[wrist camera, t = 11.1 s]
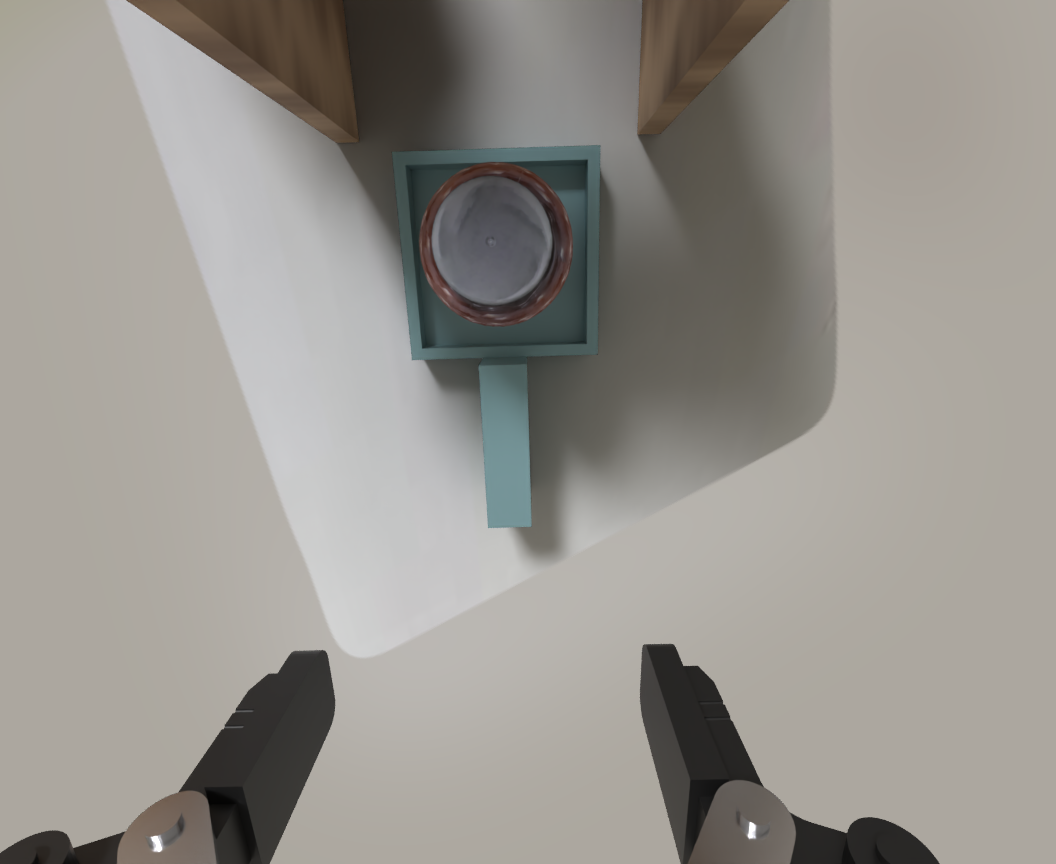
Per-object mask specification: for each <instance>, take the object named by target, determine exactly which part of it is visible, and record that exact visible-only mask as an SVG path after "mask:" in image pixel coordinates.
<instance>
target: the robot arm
mask: <svg viewBox="0 0 1056 864" xmlns="http://www.w3.org/2000/svg"><path fill="white" fill-rule="evenodd" d="M640 702H641V703H640V704H641V712H642V718H643V723H644V726H645V730H646V734H647V738H648V741H649V745H650V749H651V753H652V756H653V760H654V764H655V768H656V772H657V775H658V779H659V783H660V787H661V790H662V794H663V798H664V802H665V806H666V809H667V813H668V817H669V821H670V825H671V828H672V832H673V836H674V840H675V843H676V847H677V851H678V855H679V859H680V862H681V864H939V862H938V861H937V859H936V858H935V857H934V855H933V854H932V853H931V852H930V850H929V849H928V848H927V847H926V846H925V845H924V844H923V843H922V842H921V841H919V840H918V839H917V838H916V837H915V836H913V835H912V834H911V833H909V832H908V831H906V830H905V829H903V828H901V827H899V826H897V825H896V824H893V823H891V822H889V821H886V820H882V819H879V818H872V817H868V818H861V819H858V820H856V821H854V822H853V823H852V824H851V825H850V827H849V829H848V832H847V833H844V832H841V831H837V830H834V829H831V828H828V827H824V826H821V825H818V824H814V823H811V822H808V821H806V820H803V819H801V818H799V817H797V816H795V815H793V814H792V813H790V812H789V811H788V809H787V808H786V806H785V805H784V804H783V803H782V801H781V800H780V799H779V798H778V797H776V795H774V794H773V793H772V792H770V791H769V790H767V789H766V788H764V786H763V785H762V783H761V781H760V779H759V777H758V775H757V773H756V770H755V768H754V766H753V764H752V762H751V760H750V758H749V756H748V753H747V752H746V749H745V747H744V745H743V743H742V741H741V739H740V736H739V734H738V732H737V730H736V728H735V726H734V724H733V722H732V721H731V719H730V715H729V713H728V711H727V709H726V707H725V705H723V700H722V698H721V696H720V694H719V692H718V690H717V688H716V685H715V683H714V682H713V681H712V680H711V679H710V678H709V677H708V676H707V675H706V674H705V673H704V672H703V671H702V670H701V669H700V668H699V667H698V666H683V664H682V662H681V659H680V657H679V654H678V652H677V650H676V647H675V646H674V645H673V644H646V645H643V648H642V664H641V684H640ZM334 711H335V695H334V690H333V683H332V678H331V672H330V666H329V661H328V655H327V653H326V651H323V650H315V651H294V652H292V653H291V654H290V655H289V657H288V658H287V660H286V661H285V663H284V664H283V666H282V667H281V669H280V671H279V672H278V674H268V675H267V676H265V677H264V678H263V679H262V680H261V681H260V682H258V683H257V684H256V685H255V686H253V687H252V688H251V689H250V690H249V691H248V692H247V694H246V695H245V697H244V698H243V700H242V701H241V703H240V704H239V705H238V707H237V708H236V712H235V713H233V714H232V715H231V717H230V718H229V720H228V722H227V723H226V724H225V728H224V729H222V730H221V732H220V733H219V735H218V736H217V737H216V739H215V740H214V742H213V743H212V745H211V746H210V747H209V749H208V750H207V752H206V753H205V755H204V756H203V758H202V759H201V760H200V762H199V763H198V765H197V766H196V768H195V769H194V771H193V772H192V774H191V775H190V776H189V778H188V779H187V781H186V782H185V784H184V785H183V787H182V788H181V789H180V791H179V792H178V793H175V794H172V795H169V796H167V797H165V798H163V799H161V800H159V801H158V802H156V803H154V804H153V805H151V806H150V807H148V808H147V809H146V810H145V811H144V812H142V813H141V814H140V815H139V816H138V817H137V818H136V819H135V820H134V821H133V822H132V823H131V825H130V826H129V827H128V829H127V830H126V831H125V832H122V833H120V834H116V835H113V836H110V837H107V838H104V839H101V840H98V841H95V842H91V843H88V844H85V845H82V846H79V847H76V848H73V847H72V844H71V842H70V839H69V837H68V836H67V834H65V833H64V832H60V831H45V832H41V833H38V834H35V835H32V836H29V837H27V838H25V839H23V840H21V841H19V842H17V843H15V844H14V845H12V846H10V847H8V848H7V849H6V850H4V851H3V852H1V853H0V864H270V861H271V859H272V857H273V855H274V853H275V850H276V848H277V846H278V844H279V841H280V839H281V837H282V835H283V832H284V830H285V828H286V826H287V823H288V821H289V819H290V817H291V814H292V812H293V810H294V808H295V805H296V803H297V801H298V799H299V797H300V794H301V792H302V790H303V788H304V786H305V783H306V781H307V779H308V777H309V774H310V772H311V770H312V767H313V765H314V763H315V761H316V759H317V756H318V754H319V752H320V750H321V748H322V745H323V743H324V741H325V739H326V736H327V734H328V732H329V730H330V727H331V725H332V721H333V717H334Z"/></svg>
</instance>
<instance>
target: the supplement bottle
mask: <svg viewBox="0 0 1056 864" xmlns="http://www.w3.org/2000/svg"><path fill="white" fill-rule="evenodd" d="M419 249H420V256H421V262H422V266H423V269H424V272H425V275H426V278H427V280H428V282H429V284H430V286H431V288H432V289H433V291H434V292H435V293H436V294H437V296H438V297H439V298H440V300H441V301H442V302H443V303H444V304H445V305H446V306H447V307H448V308H450V309H451V310H452V311H453V312H455V313H456V314H457V315H459V316H461V317H462V318H464V319H466V320H468V321H470V322H473V323H477V324H481V325H484V326H492V327H495V326H501V327H505V326H511V325H515V324H519V323H522V322H525V321H527V320H528V319H531V318H532V317H534V316H536V315H537V314H539V313H540V312H542V311H543V310H544V309H545V308H546V307H547V306H548V305H550V304H551V302H552V301H553V300H554V299H555V298H556V296H557V295H558V294H559V292H560V291H561V289H562V287H563V285H564V283H565V281H566V279H567V277H568V274H569V271H570V267H571V262H572V256H573V237H572V228H571V224H570V221H569V217H568V214H567V212H566V209H565V207H564V205H563V204H562V202H561V200H560V198H559V197H558V195H557V194H556V193H555V192H554V191H553V189H552V188H551V187H550V186H549V185H548V184H547V183H546V182H545V181H544V180H543V179H541V178H540V177H539V176H537V175H536V174H535V173H533V172H531V171H529V170H527V169H525V168H523V167H520V166H517V165H514V164H510V163H504V162H486V163H480V164H476V165H473V166H470V167H467V168H465V169H462V170H461V171H459V172H458V173H456V174H454V175H453V176H451V177H450V178H449V179H448V180H447V181H446V182H444V183H443V184H442V185H441V186H440V188H439V189H438V190H437V191H436V193H435V194H434V195H433V196H432V198H431V200H430V202H429V204H428V206H427V208H426V210H425V213H424V215H423V219H422V222H421V228H420V236H419Z"/></svg>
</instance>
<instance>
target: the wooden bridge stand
mask: <svg viewBox="0 0 1056 864" xmlns="http://www.w3.org/2000/svg"><path fill="white" fill-rule="evenodd" d="M127 1H128V2H130V3H131V4H133V5H134V6H135V7H137V8H138V9H140V10H141V11H143V12H144V13H146V14H147V15H149V16H150V17H152V18H153V19H155V20H156V21H158V22H159V23H161V24H162V25H164V26H165V27H166V28H168V29H169V30H171V31H172V32H174V33H175V34H177V35H178V36H180V37H181V38H183V39H184V40H186V41H187V42H189V43H190V44H192V45H193V46H194V47H196V48H197V49H199V50H200V51H202V52H203V53H205V54H206V55H208V56H209V57H211V58H212V59H214V60H215V61H217V62H218V63H220V64H221V65H222V66H224V67H225V68H227V69H228V70H230V71H231V72H233V73H234V74H236V75H237V76H239V77H240V78H242V79H243V80H245V81H246V82H248V83H249V84H250V85H252V86H253V87H255V88H256V89H258V90H259V91H261V92H262V93H264V94H265V95H267V96H268V97H270V98H271V99H273V100H274V101H276V102H277V103H278V104H280V105H281V106H283V107H284V108H286V109H287V110H289V111H290V112H292V113H293V114H295V115H296V116H298V117H299V118H301V119H302V120H304V121H305V122H306V123H308V124H309V125H311V126H312V127H314V128H315V129H317V130H318V131H320V132H321V133H323V134H324V135H326V136H327V137H329V138H330V139H332V140H333V141H334V142H336V143H350V142H359V135H358V127H357V118H356V109H355V101H354V92H353V83H352V75H351V66H350V57H349V49H348V40H347V31H346V23H345V14H344V5H343V0H127ZM788 1H789V0H643V2H642V29H641V55H640V81H639V107H638V133H637V134H661V133H662V132H663V131H664V130H665V129H666V128H667V126H668V125H669V124H670V123H671V122H672V121H673V120H674V119H675V118H676V117H677V116H678V115H679V114H680V113H681V112H682V111H683V110H684V109H685V108H686V107H687V106H688V105H689V104H690V103H691V102H692V101H693V100H694V99H695V97H696V96H697V95H698V94H699V93H700V92H701V91H702V90H703V89H704V88H705V87H706V86H707V85H708V84H709V83H710V82H711V81H712V80H713V79H714V78H715V77H716V76H717V75H718V74H719V73H720V72H721V71H722V70H723V68H724V67H725V66H726V65H727V64H728V63H729V62H730V61H731V60H732V59H733V58H734V57H735V56H736V55H737V54H738V53H739V52H740V51H741V50H742V49H743V48H744V47H745V46H746V45H747V44H748V43H749V42H750V41H751V39H752V38H753V37H754V36H755V35H756V34H757V33H758V32H759V31H760V30H761V29H762V28H763V27H764V26H765V25H766V24H767V23H768V22H769V21H770V20H771V19H772V18H773V17H774V16H775V15H776V14H777V13H778V12H779V10H780V9H781V8H782V7H783V6H784V5H785V4H786V3H787V2H788Z"/></svg>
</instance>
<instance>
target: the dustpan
mask: <svg viewBox="0 0 1056 864" xmlns="http://www.w3.org/2000/svg"><path fill="white" fill-rule="evenodd" d="M392 159H393V170H394V180H395V190H396V200H397V211H398V221H399V231H400V241H401V252H402V262H403V272H404V282H405V293H406V303H407V313H408V323H409V334H410V344H411V354H412V360H430V359H464V358H483V359H482V361H481V362H480V364H479V381H480V398H481V415H482V432H483V449H484V466H485V483H486V501H487V518H488V528H504V527H532V524H531V481H530V448H529V414H528V380H527V357H532V356H566V355H598V295H599V215H600V145H591V146H559V147H528V148H496V149H464V150H433V151H401V152H392ZM486 162H504V163H510V164H514V165H517V166H520V167H523V168H525V169H527V170H529V171H531V172H533V173H535V174H536V175H537V176H539V177H540V178H541V179H543V180H544V181H545V182H546V183H547V184H548V185H549V186H550V187H551V188H552V189H553V191H554V192H555V193H556V194H557V195H558V197H559V198H560V200H561V202H562V204H563V205H564V207H565V209H566V212H567V214H568V217H569V221H570V224H571V228H572V237H573V256H572V262H571V267H570V271H569V274H568V277H567V279H566V281H565V283H564V285H563V287H562V289H561V291H560V292H559V294H558V295H557V296H556V298H555V299H554V300H553V301H552V302H551V304H550V305H548V306H547V307H546V308H545V309H544V310H543V311H542V312H540V313H539V314H537V315H536V316H534V317H532V318H531V319H528V320H527V321H525V322H522V323H519V324H515V325H511V326H505V327H501V326H495V327H492V326H484V325H481V324H477V323H473V322H470V321H468V320H466V319H464V318H462V317H461V316H459V315H457V314H456V313H455V312H453V311H452V310H451V309H450V308H448V307H447V306H446V305H445V304H444V303H443V302H442V301H441V300H440V298H439V297H438V296H437V294H436V293H435V292H434V291H433V289H432V288H431V286H430V284H429V282H428V280H427V278H426V275H425V272H424V269H423V266H422V262H421V256H420V249H419V236H420V228H421V222H422V219H423V215H424V213H425V210H426V208H427V206H428V204H429V202H430V200H431V198H432V196H433V195H434V194H435V193H436V191H437V190H438V189H439V188H440V186H441V185H442V184H443V183H444V182H446V181H447V180H448V179H449V178H450V177H451V176H453V175H454V174H456V173H458V172H459V171H461V170H462V169H465V168H467V167H470V166H473V165H476V164H480V163H486Z"/></svg>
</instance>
